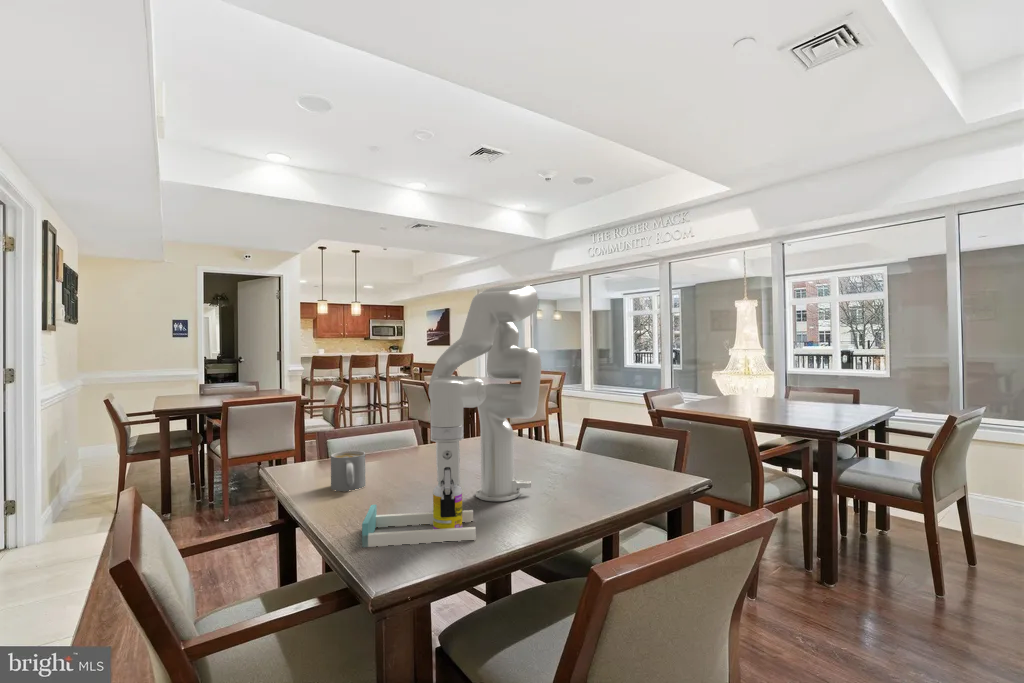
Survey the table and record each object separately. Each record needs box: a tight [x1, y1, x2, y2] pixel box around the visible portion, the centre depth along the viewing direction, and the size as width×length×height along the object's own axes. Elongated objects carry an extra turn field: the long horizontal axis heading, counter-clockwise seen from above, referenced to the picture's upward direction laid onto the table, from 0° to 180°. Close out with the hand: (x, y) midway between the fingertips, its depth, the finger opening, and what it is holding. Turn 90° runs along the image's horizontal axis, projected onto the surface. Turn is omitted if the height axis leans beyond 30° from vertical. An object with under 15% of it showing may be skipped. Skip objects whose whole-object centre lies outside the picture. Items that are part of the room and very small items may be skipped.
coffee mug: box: [330, 450, 366, 492], centre depth 145 cm, size 13×10×10 cm
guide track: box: [361, 504, 477, 548], centre depth 110 cm, size 24×12×5 cm, turn 98°
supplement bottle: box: [432, 473, 463, 529], centre depth 111 cm, size 7×7×13 cm
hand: (447, 510), depth 111 cm, fingers closed on supplement bottle, 6 cm apart
